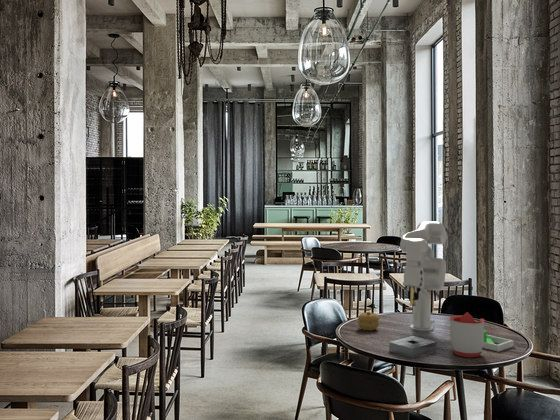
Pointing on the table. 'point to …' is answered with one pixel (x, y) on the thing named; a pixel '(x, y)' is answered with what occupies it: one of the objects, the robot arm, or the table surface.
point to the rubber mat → (409, 336)
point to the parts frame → (501, 342)
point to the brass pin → (412, 296)
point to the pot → (368, 321)
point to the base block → (412, 346)
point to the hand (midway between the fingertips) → (413, 299)
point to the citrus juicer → (466, 335)
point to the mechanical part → (487, 338)
